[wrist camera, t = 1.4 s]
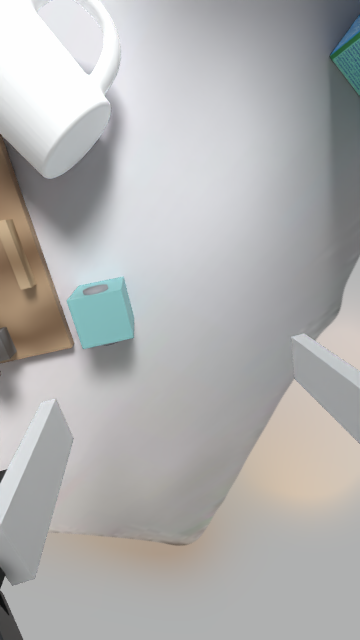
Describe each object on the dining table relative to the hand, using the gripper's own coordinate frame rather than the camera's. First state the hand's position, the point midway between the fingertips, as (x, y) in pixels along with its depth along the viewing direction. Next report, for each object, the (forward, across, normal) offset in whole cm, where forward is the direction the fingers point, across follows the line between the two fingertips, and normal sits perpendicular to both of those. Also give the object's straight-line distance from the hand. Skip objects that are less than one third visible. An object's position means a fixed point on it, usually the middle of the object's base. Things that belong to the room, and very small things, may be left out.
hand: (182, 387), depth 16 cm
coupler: (+19, -6, +1) cm, 20 cm away
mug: (+19, -4, +21) cm, 28 cm away
